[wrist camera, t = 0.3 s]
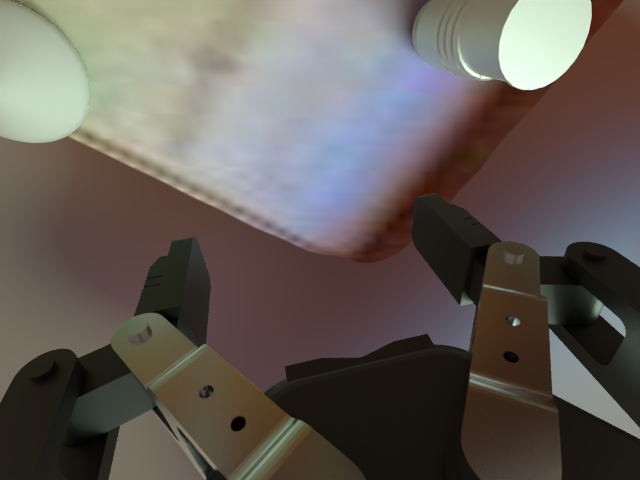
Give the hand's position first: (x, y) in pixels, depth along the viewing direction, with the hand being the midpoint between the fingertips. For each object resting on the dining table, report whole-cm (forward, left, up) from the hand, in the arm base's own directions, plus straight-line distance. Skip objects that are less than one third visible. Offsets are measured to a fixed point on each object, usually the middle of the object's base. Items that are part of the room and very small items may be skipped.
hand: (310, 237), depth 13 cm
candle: (-6, +19, -28) cm, 34 cm away
